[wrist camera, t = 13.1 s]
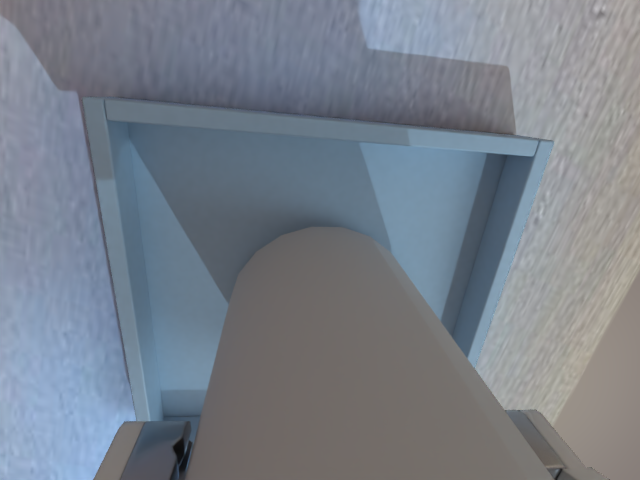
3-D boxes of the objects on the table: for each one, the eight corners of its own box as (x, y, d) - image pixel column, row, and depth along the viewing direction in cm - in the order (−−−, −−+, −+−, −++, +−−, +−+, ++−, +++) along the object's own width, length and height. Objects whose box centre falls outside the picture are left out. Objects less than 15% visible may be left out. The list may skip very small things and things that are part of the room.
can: (204, 330, 15) (-22, 1014, 4) (283, 184, 12) (302, 799, 2) (345, 381, 17) (466, 910, 6) (433, 264, 15) (890, 759, 4)
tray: (518, 135, 13) (555, 140, 11) (433, 408, 19) (450, 441, 17) (113, 97, 11) (80, 96, 9) (156, 416, 17) (141, 454, 15)
